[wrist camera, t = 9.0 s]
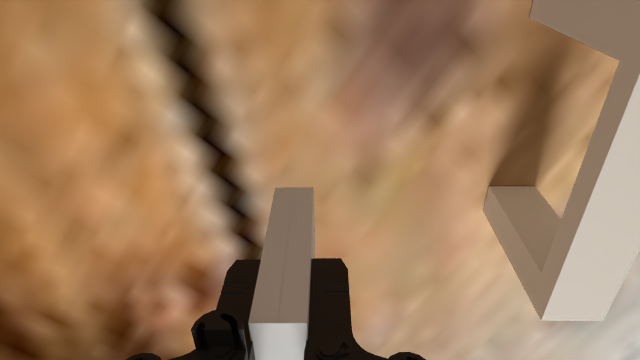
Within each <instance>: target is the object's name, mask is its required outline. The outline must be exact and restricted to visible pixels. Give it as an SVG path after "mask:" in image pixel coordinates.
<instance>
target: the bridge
mask: <svg viewBox="0 0 640 360" xmlns="http://www.w3.org/2000/svg"><path fill="white" fill-rule="evenodd" d="M529 18H530V19H532V20H534V21H536V22H538V23H540V24H542V25H545V26H547V27H549V28H551V29H553V30H555V31H557V32H560V33H562V34H564V35H566V36H568V37H570V38H572V39H574V40H577V41H579V42H581V43H583V44H585V45H587V46H589V47H592V48H594V49H596V50H598V51H600V52H602V53H604V54H607V55H609V56H611V57H613V58H615V59H617V60H619V64H618V67H617V70H616V72H615V75H614V78H613V81H612V83H611V86H610V89H609V91H608V94H607V97H606V100H605V102H604V105H603V108H602V110H601V113H600V116H599V119H598V121H597V124H596V127H595V129H594V132H593V135H592V138H591V140H590V143H589V146H588V149H587V151H586V154H585V157H584V159H583V162H582V165H581V168H580V170H579V173H578V176H577V178H576V181H575V184H574V187H573V189H572V192H571V195H570V197H569V200H568V203H567V206H566V208H565V211H564V214H563V217H562V219H560V218H559V216H558V215H557V214H556V213H555V211H554V210H553V209H552V207H551V206H550V205H549V204H548V202H547V201H546V200H545V198H544V197H543V196H542V195H541V193H540V192H539V191H538V189H537V188H536V187H535V186H489V189H488V193H487V197H486V201H485V205H484V209H483V212H484V213H485V215H486V217H487V219H488V221H489V223H490V225H491V227H492V228H493V230H494V232H495V234H496V236H497V238H498V240H499V242H500V244H501V245H502V247H503V249H504V251H505V253H506V255H507V257H508V259H509V261H510V262H511V264H512V266H513V268H514V270H515V272H516V274H517V276H518V278H519V279H520V281H521V283H522V285H523V287H524V289H525V291H526V293H527V295H528V296H529V298H530V300H531V302H532V304H533V306H534V308H535V310H536V312H537V313H538V315H539V317H540V319H541V320H546V321H603V320H604V318H605V316H606V314H607V312H608V310H609V308H610V307H611V305H612V303H613V301H614V299H615V297H616V295H617V293H618V291H619V289H620V287H621V285H622V283H623V281H624V280H625V278H626V276H627V274H628V272H629V270H630V268H631V266H632V264H633V262H634V260H635V258H636V256H637V255H638V253H639V251H640V0H533V4H532V8H531V13H530V17H529Z"/></svg>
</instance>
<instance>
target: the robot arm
mask: <svg viewBox="0 0 640 360" xmlns="http://www.w3.org/2000/svg"><path fill="white" fill-rule="evenodd" d="M314 257H315V223H314V188H313V187H311V188H275V192H274V197H273V202H272V207H271V212H270V217H269V222H268V227H267V232H266V237H265V242H264V247H263V252H262V257H261V260H236V261H235V262H234V264H233V265H232V266H231V267H230V268H229V269H228V271H227V274H226V277H225V281H224V285H223V288H222V291H221V295H220V298H219V301H218V305H217V308H216V310H214V311H211V312H209V313H206V314H204V315H203V316H201V317H200V318H199V319H198V320H197V321H196V322H195V323H194V325H193V327H192V329H191V332H192V335H193V339H194V343H195V347H196V349H195V350H193V351H192V352H190V353H188V354H185V355H183V356H180V357H176V358H173V359H169V360H426V359H424V358H423V357H421V356H420V355H418V354H414V353H411V352H399V353H396V354H394V355H392V356H390V357H389V358H388V359H386V358H383V357H380V356H377V355H374V354H371V353H369V352H367V351H365V350H364V349H363V348H361V347H360V346H359V345H358V343H357V342H356V341H355V339H354V337H353V333H352V326H351V311H350V296H349V281H348V269H347V267H346V266H345V264H344V263H343V261H342V259H341V258H317V259H314ZM127 360H161V358H160V357H159V356H157V355H154V354H152V353H141V354H138V355H134V356H132V357H130V358H128V359H127Z"/></svg>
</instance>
